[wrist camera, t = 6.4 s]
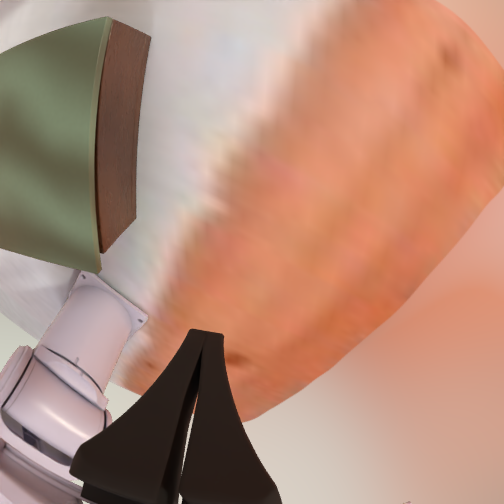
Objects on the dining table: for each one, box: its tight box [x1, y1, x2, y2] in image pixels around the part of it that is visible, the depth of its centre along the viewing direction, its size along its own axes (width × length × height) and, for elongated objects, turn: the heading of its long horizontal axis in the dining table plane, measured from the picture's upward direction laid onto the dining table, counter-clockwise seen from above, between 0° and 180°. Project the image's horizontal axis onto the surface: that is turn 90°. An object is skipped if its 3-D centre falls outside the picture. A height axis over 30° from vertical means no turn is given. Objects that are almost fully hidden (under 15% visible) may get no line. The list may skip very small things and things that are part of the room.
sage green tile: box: [0, 17, 113, 274], centre depth 11 cm, size 14×12×1 cm
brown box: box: [94, 19, 151, 254], centre depth 13 cm, size 14×12×5 cm
